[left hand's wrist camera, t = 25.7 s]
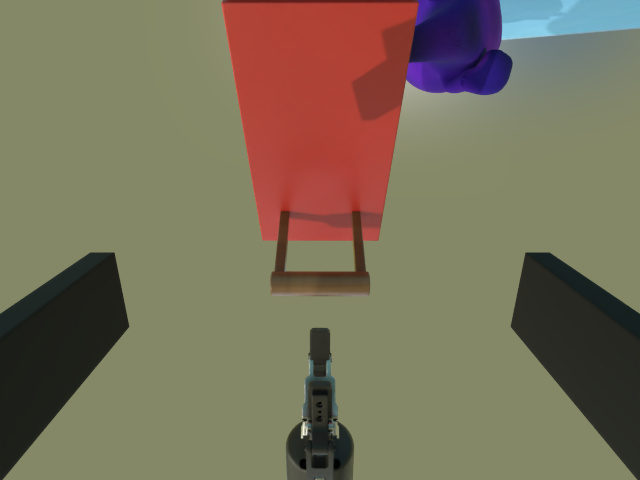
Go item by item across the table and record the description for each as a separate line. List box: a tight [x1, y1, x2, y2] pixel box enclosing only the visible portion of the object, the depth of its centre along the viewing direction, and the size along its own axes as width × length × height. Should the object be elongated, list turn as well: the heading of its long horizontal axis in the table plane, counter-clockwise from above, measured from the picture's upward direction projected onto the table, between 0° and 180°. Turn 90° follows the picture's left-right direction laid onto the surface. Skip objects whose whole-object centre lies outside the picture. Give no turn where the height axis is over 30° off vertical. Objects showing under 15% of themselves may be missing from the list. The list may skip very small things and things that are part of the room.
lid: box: [222, 0, 419, 296], centre depth 24 cm, size 18×10×8 cm
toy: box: [406, 0, 513, 95], centre depth 51 cm, size 16×18×27 cm
